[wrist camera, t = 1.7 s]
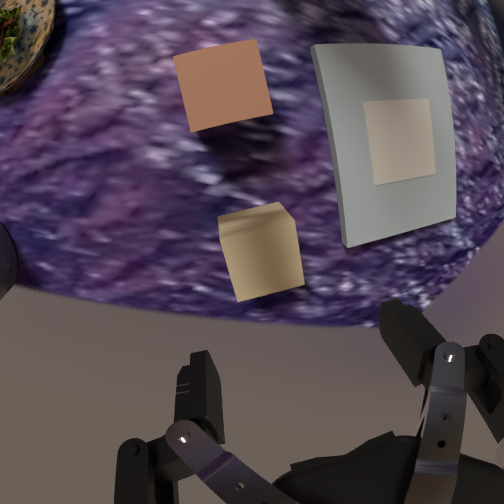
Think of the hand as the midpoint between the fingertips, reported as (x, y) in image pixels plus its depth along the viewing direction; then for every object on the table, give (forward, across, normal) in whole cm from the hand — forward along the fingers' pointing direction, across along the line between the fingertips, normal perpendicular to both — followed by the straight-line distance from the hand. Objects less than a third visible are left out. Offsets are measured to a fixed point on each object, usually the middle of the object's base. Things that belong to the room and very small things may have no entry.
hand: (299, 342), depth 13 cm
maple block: (+14, 0, 0) cm, 14 cm away
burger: (+14, +17, -25) cm, 33 cm away
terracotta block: (+14, 0, -12) cm, 18 cm away
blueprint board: (+14, -14, -6) cm, 20 cm away
